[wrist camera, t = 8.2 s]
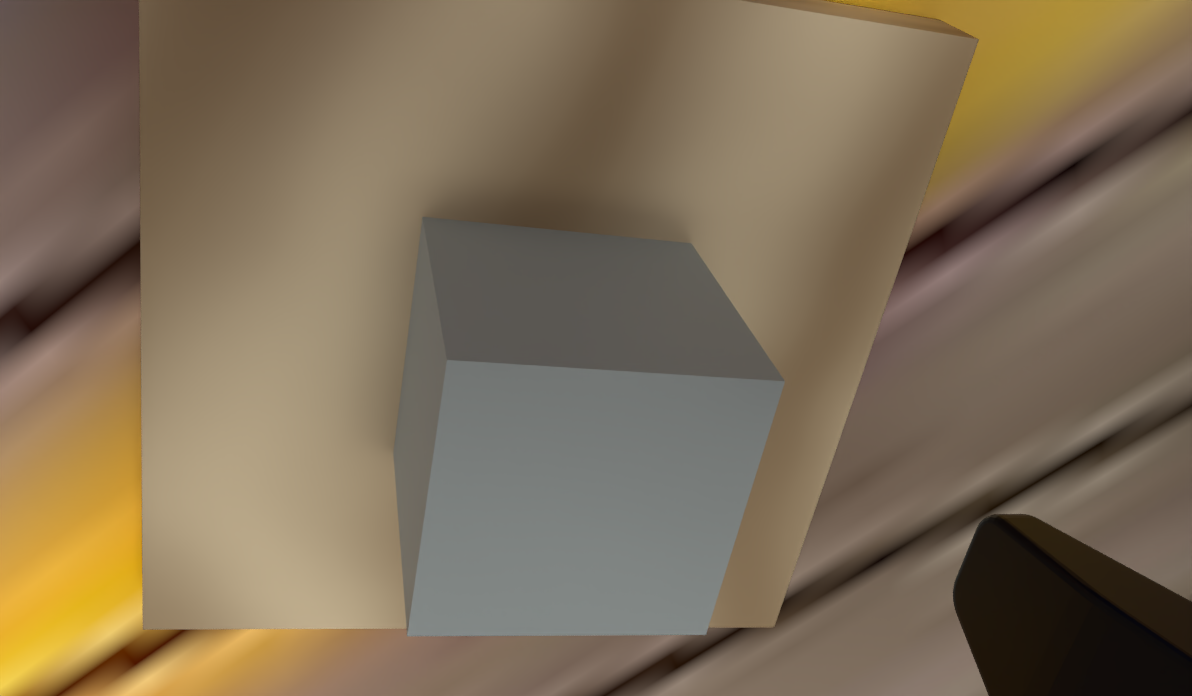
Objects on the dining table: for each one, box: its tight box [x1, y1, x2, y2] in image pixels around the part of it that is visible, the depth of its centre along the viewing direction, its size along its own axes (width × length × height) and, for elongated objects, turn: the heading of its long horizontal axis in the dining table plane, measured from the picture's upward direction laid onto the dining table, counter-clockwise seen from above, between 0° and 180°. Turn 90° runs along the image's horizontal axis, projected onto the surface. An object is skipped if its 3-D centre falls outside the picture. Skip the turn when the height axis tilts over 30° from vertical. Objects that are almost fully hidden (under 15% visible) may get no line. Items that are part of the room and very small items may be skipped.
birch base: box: [139, 0, 979, 629], centre depth 21 cm, size 14×14×2 cm
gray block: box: [393, 217, 785, 636], centre depth 19 cm, size 5×5×5 cm
